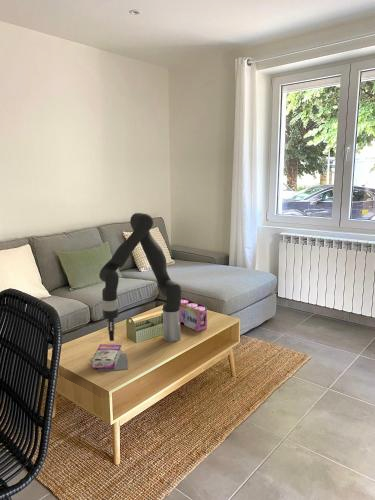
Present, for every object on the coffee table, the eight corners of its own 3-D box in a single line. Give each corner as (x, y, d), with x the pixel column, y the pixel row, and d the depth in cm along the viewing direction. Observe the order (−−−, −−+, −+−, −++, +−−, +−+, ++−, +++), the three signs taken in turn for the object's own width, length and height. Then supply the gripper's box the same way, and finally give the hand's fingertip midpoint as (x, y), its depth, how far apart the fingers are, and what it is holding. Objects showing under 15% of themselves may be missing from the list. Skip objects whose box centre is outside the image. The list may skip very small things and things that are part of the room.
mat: (126, 353, 201) (126, 353, 201) (127, 369, 186) (127, 368, 185) (98, 356, 198) (98, 355, 198) (97, 372, 183) (97, 371, 183)
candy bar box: (100, 353, 201) (91, 368, 185) (100, 344, 200) (91, 358, 184) (122, 353, 201) (114, 369, 185) (121, 344, 200) (114, 359, 184)
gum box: (209, 329, 232) (209, 307, 229) (198, 332, 227) (199, 310, 224) (184, 317, 250) (183, 297, 247) (174, 320, 245) (174, 300, 243)
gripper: (118, 311, 187) (119, 345, 191) (117, 302, 200) (118, 334, 203) (102, 313, 186) (104, 346, 189) (102, 303, 198) (104, 335, 202)
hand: (111, 340), depth 196 cm, fingers closed
